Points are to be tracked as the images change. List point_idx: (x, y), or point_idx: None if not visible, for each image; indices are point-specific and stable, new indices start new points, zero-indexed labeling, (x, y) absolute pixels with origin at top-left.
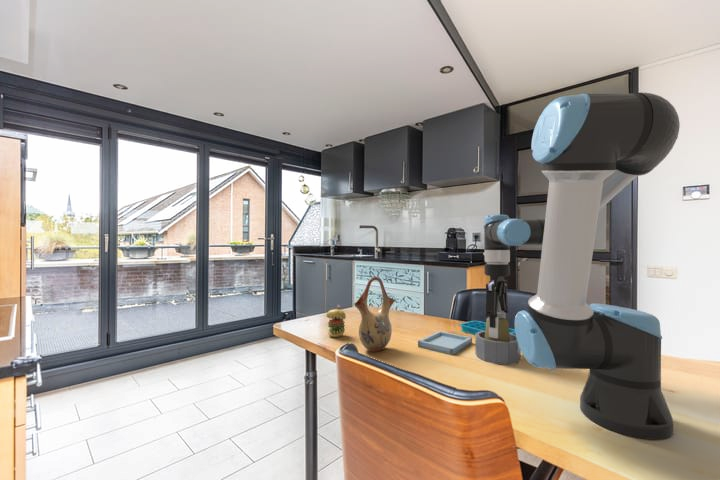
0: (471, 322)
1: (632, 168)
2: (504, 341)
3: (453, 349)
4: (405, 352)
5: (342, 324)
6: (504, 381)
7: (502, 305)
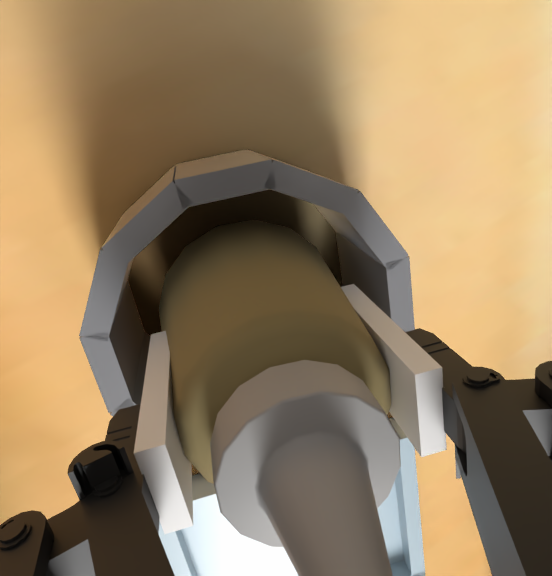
0: None
1: None
2: (302, 248)
3: (403, 434)
4: None
5: None
6: (542, 68)
7: (168, 560)
